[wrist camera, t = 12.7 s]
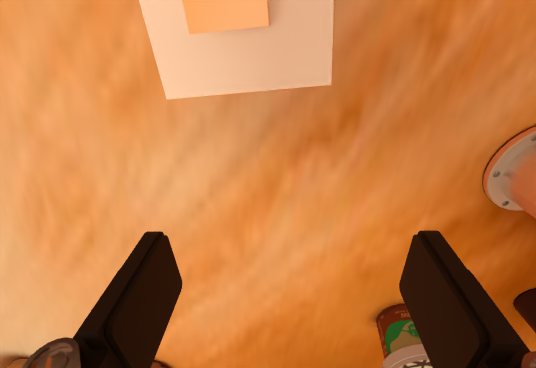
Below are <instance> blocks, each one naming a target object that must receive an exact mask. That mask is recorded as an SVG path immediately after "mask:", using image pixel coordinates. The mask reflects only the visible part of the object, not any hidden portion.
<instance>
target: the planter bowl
mask: <svg viewBox="0 0 536 368" xmlns="http://www.w3.org/2000/svg"><path fill="white" fill-rule="evenodd" d="M27 360H28V359H17V360H14V361H13V362H12V363H11V364H10V365H9V366H8V367H6V368H22V367H23V365H24V363H25V362H26V361H27Z"/></svg>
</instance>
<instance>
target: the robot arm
mask: <svg viewBox="0 0 536 368" xmlns="http://www.w3.org/2000/svg"><path fill="white" fill-rule="evenodd" d="M483 188H484V191H485V194H486V195H487V197H488V198H489V199H490V200H491V201H492V202H494V203H495V204H496V205H498V206H499V207H501V208H504V209H508V210H515V211H522V210H525V211H526V212H527V213H528V214H530V215H531V216H532V217H534V218H535V219H536V127H533V128H530V129H529V130H527V131H525V132H523V133H521V134H519V135H518V136H516V137H515V138H513V139H512V140H510V141H509V142H508V143H507V144H506V145H504V146H503V147H502V148H501V149H500V150H499V151H498V152H497V154H496V155H495V156H494V157H493V159H492V160H491V162H490V163H489V165H488V167H487V169H486V171H485V174H484V179H483ZM399 288H400V292H401V295H402V297H403V300H404V302H405V304H406V307H407V309H408V312H409V314H410V316H411V319H412V321H413V323H414V326H415V328H416V330H417V333H418V335H419V337H420V340H421V342H422V344H423V347H424V349H425V352H426V354H427V356H428V359H429V361H430V363H431V366H432V368H536V351H534V352H530V350H529V349H528V348H527V346H526V345H525V344H524V342H523V341H522V340H521V338H520V337H519V335H518V334H517V333H516V331H515V330H514V329H513V327H512V326H511V325H510V323H509V322H508V321H507V319H506V318H505V317H504V315H503V314H502V313H501V311H500V310H499V309H498V307H497V306H496V305H495V303H494V302H493V301H492V299H491V298H490V297H489V295H488V294H487V293H486V291H485V290H484V289H483V287H482V286H481V285H480V283H479V282H478V281H477V279H476V278H475V276H474V275H473V274H472V273H471V272H470V271H469V270H468V269H467V268H466V267H465V266H464V264H463V263H462V262H461V260H460V259H459V258H458V256H457V255H456V253H455V252H454V251H453V249H452V248H451V247H450V245H449V244H448V243H447V241H446V240H445V239H444V237H443V236H442V235H441V233H440V232H439V231H419V232H418V234H417V235H414V236H413V239H412V242H411V246H410V249H409V252H408V256H407V259H406V263H405V266H404V270H403V273H402V276H401V280H400V284H399ZM181 289H182V279H181V276H180V273H179V270H178V267H177V264H176V261H175V257H174V254H173V251H172V248H171V245H170V242H169V239H168V236H167V235H164V234H163V232H146V233H145V234H144V235H143V236H142V238H141V239H140V241H139V242H138V244H137V245H136V247H135V248H134V250H133V251H132V253H131V254H130V256H129V257H128V259H127V260H126V261H125V263H124V264H123V266H122V267H121V269H120V270H119V271H118V272H117V274H116V275H115V277H114V278H113V280H112V281H111V283H110V284H109V285H108V287H107V288H106V290H105V291H104V293H103V294H102V296H101V297H100V299H99V300H98V302H97V303H96V305H95V306H94V308H93V309H92V310H91V312H90V313H89V315H88V316H87V318H86V319H85V321H84V322H83V324H82V325H81V327H80V328H79V330H78V331H77V333H76V334H75V336H74V337H73V338H66V337H65V338H60V339H56V340H54V341H51V342H49V343H47V344H46V345H44V346H42V347H41V348H39V349H38V350H37V351H36V352H35V353H34V354H32V355H31V356H30V358H29V359H28V360H27V361H26V362H25V363H24V365H23V367H22V368H151V366H152V363H153V361H154V358H155V355H156V353H157V350H158V348H159V345H160V343H161V340H162V338H163V335H164V333H165V330H166V328H167V325H168V322H169V320H170V317H171V315H172V312H173V310H174V307H175V305H176V302H177V300H178V297H179V295H180V292H181Z"/></svg>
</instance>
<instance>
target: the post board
mask: <svg viewBox="0 0 536 368" xmlns="http://www.w3.org/2000/svg"><path fill="white" fill-rule="evenodd" d="M139 3H140V6H141V10H142V13H143V17H144V20H145V24H146V27H147V31H148V35H149V38H150V42H151V45H152V49H153V52H154V56H155V60H156V63H157V67H158V70H159V74H160V77H161V81H162V84H163V88H164V92H165V95H166V99H176V98H188V97H199V96H210V95H222V94H233V93H244V92H256V91H267V90H278V89H290V88H301V87H312V86H323V85H331V77H332V44H333V11H334V0H269V12H270V26H265V27H255V28H246V29H236V30H227V31H217V32H207V33H198V34H189V30H188V25H187V21H186V16H185V11H184V6H183V2H182V0H139Z"/></svg>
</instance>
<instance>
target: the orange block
mask: <svg viewBox="0 0 536 368" xmlns="http://www.w3.org/2000/svg"><path fill="white" fill-rule="evenodd" d="M182 2H183V6H184V11H185V16H186V21H187V25H188V30H189V34H198V33H207V32H217V31H227V30H236V29H246V28H255V27H265V26H270V12H269V0H182Z"/></svg>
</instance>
